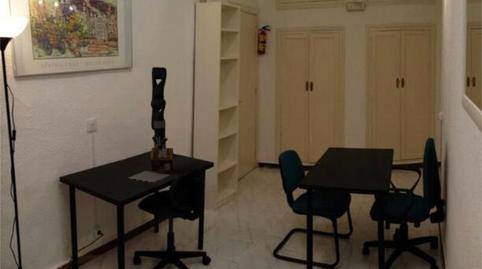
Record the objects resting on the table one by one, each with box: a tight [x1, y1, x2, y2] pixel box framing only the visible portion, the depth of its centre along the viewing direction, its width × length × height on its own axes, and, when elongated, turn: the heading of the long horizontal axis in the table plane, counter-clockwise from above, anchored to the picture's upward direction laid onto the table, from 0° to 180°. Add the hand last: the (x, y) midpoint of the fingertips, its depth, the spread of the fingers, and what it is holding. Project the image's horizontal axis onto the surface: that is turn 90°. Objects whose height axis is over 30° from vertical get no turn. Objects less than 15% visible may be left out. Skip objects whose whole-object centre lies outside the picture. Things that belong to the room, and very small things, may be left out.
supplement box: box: [150, 147, 175, 174], centre depth 343 cm, size 10×15×16 cm
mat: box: [128, 170, 171, 183], centre depth 336 cm, size 22×19×1 cm
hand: (160, 150), depth 344 cm, fingers closed
